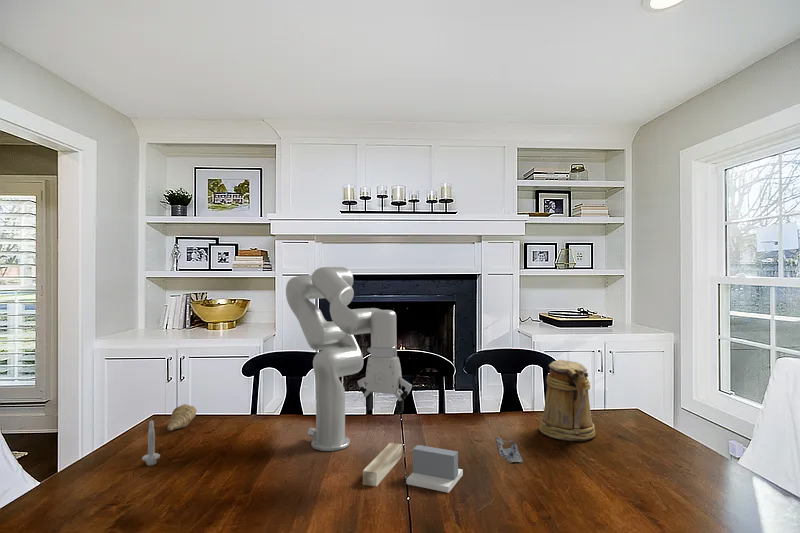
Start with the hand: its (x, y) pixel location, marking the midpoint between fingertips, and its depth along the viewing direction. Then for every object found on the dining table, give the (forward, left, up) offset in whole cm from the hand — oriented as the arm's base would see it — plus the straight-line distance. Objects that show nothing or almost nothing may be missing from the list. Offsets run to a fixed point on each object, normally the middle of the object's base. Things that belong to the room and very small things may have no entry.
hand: (384, 411), depth 138 cm
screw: (-65, -26, -17) cm, 72 cm away
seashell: (-84, 0, -17) cm, 86 cm away
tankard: (+46, +53, -17) cm, 72 cm away
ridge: (+16, 0, -17) cm, 23 cm away
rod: (0, 0, -17) cm, 17 cm away
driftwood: (+30, +30, -18) cm, 46 cm away
